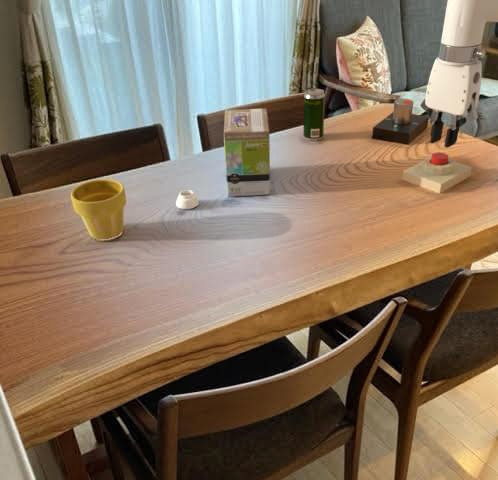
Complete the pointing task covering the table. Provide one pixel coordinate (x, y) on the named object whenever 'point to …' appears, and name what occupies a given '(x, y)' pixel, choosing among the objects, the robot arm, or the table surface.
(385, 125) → the hob
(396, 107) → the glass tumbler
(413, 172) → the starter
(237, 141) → the tea box
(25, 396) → the table surface
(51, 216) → the table surface
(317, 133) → the beer can
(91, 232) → the flower pot
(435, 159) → the button
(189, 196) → the lidless jar
